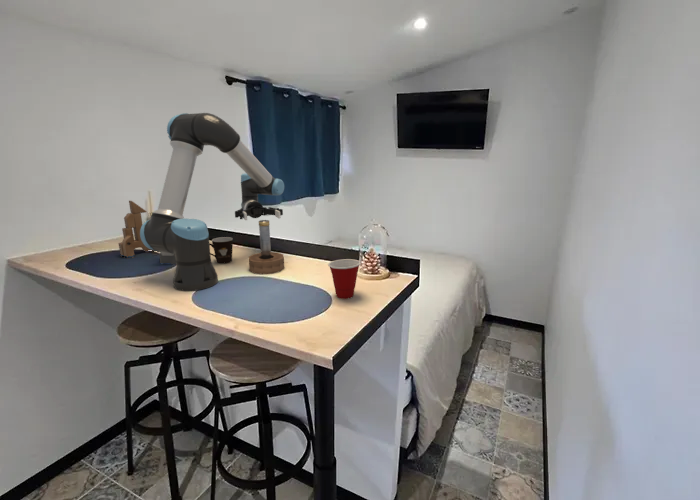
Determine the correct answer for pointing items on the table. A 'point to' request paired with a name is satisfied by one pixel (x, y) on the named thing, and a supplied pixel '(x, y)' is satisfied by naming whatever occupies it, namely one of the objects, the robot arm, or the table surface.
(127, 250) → the wooden toy
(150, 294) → the table surface
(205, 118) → the robot arm
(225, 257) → the coffee mug
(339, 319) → the table surface
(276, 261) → the brown thick ring
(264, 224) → the metal rod
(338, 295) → the plastic cup
